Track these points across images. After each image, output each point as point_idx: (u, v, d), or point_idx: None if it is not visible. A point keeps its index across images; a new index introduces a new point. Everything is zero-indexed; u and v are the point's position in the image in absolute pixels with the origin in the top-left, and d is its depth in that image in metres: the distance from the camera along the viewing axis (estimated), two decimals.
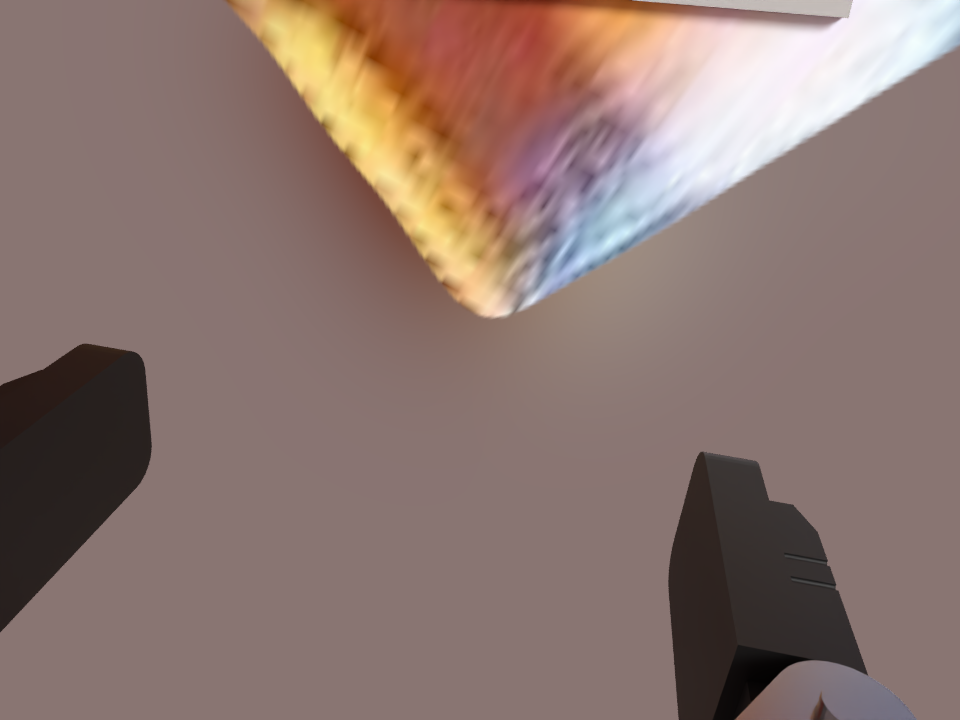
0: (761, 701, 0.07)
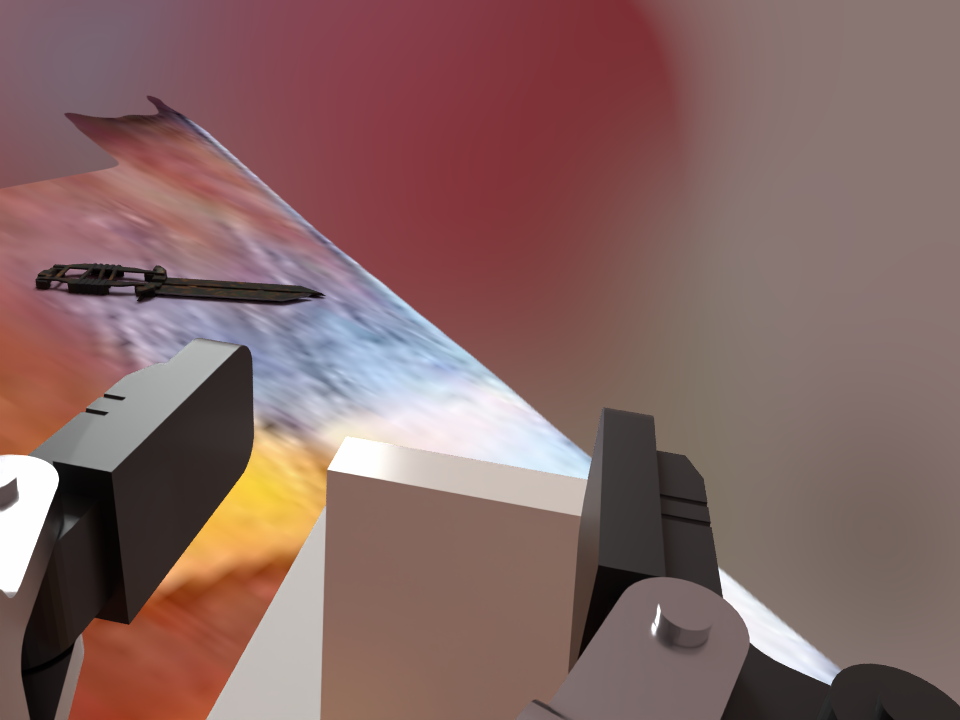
0: (609, 623, 0.07)
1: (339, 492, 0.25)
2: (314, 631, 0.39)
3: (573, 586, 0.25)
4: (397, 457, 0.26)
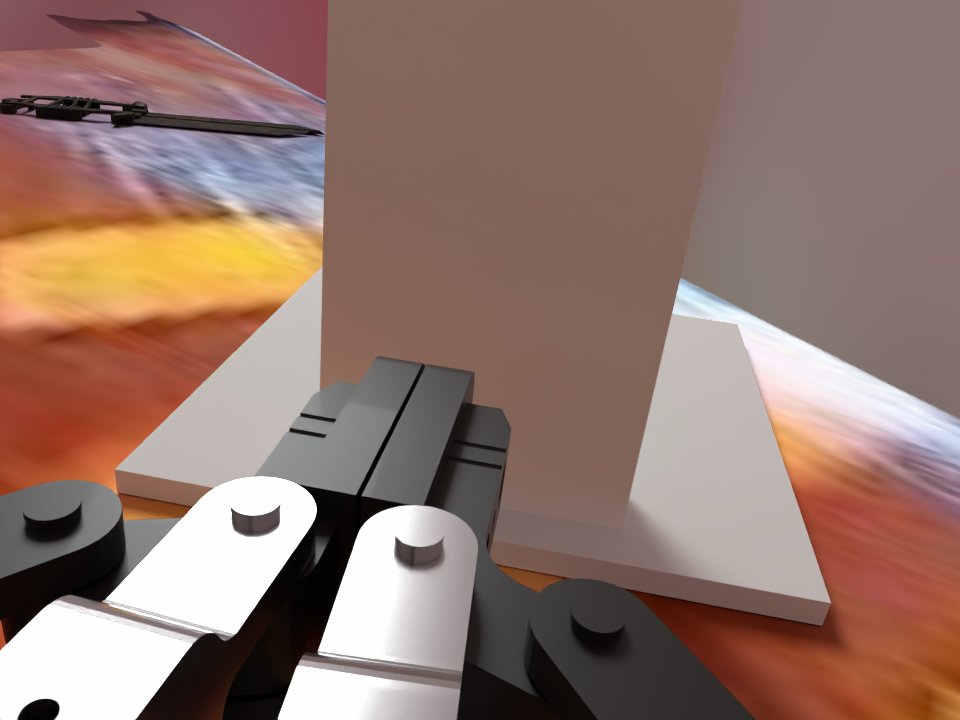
0: (353, 563, 0.08)
1: None
2: (312, 352, 0.31)
3: (685, 75, 0.18)
4: None
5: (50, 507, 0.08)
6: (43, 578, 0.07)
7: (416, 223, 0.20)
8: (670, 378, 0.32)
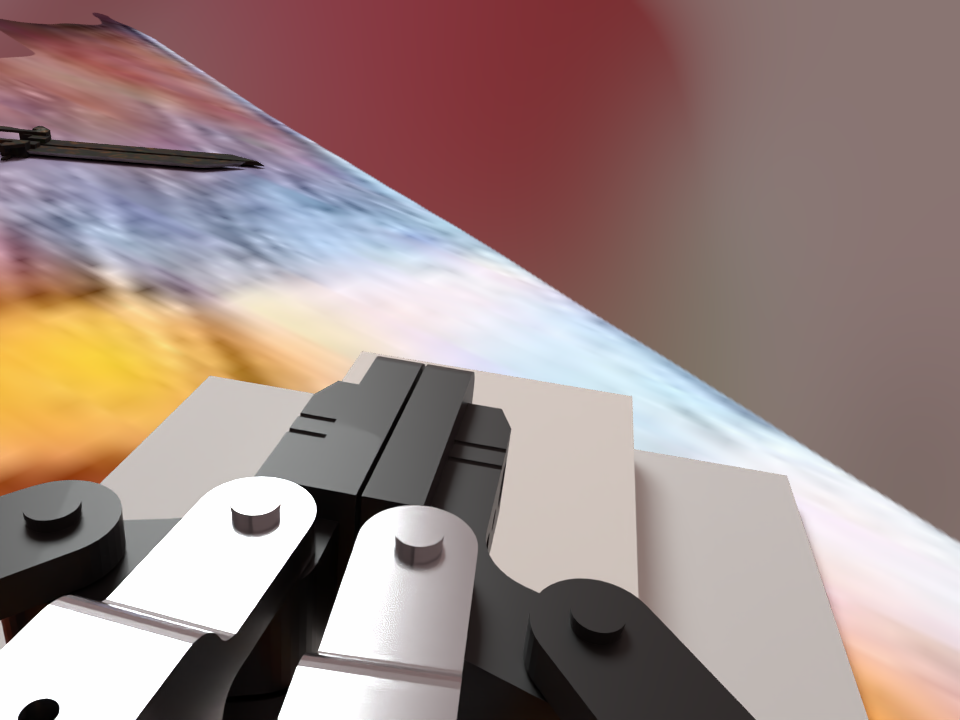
0: (353, 563, 0.08)
1: (367, 363, 0.26)
2: None
3: (603, 434, 0.24)
4: None
5: (50, 507, 0.08)
6: (43, 579, 0.07)
7: None
8: (696, 602, 0.21)
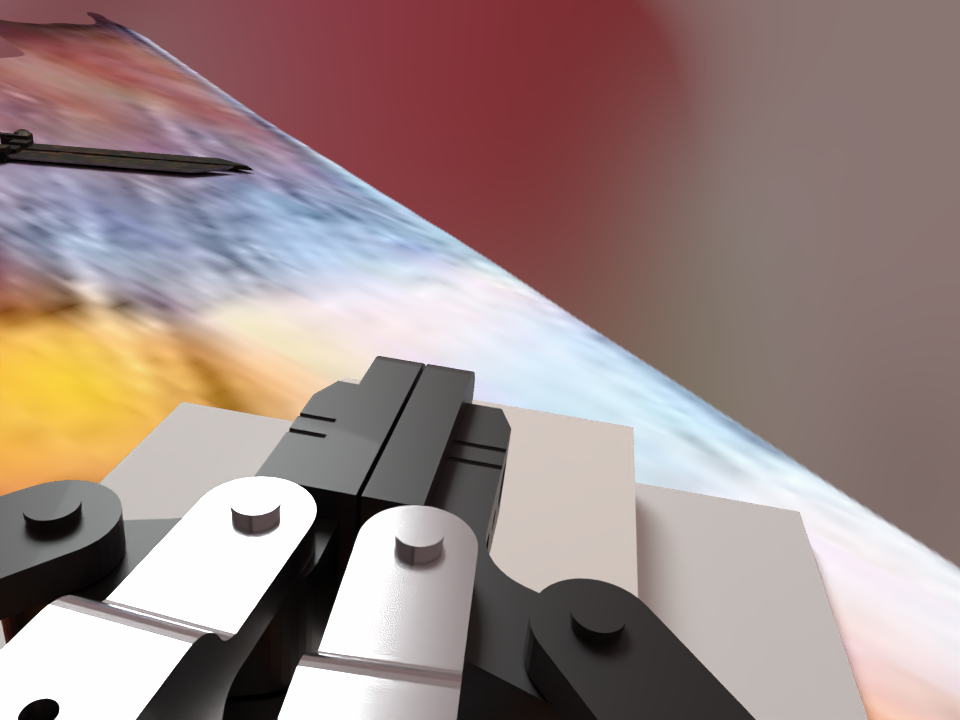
0: (353, 563, 0.08)
1: None
2: None
3: (602, 471, 0.22)
4: None
5: (50, 508, 0.08)
6: (43, 578, 0.07)
7: None
8: (703, 662, 0.19)
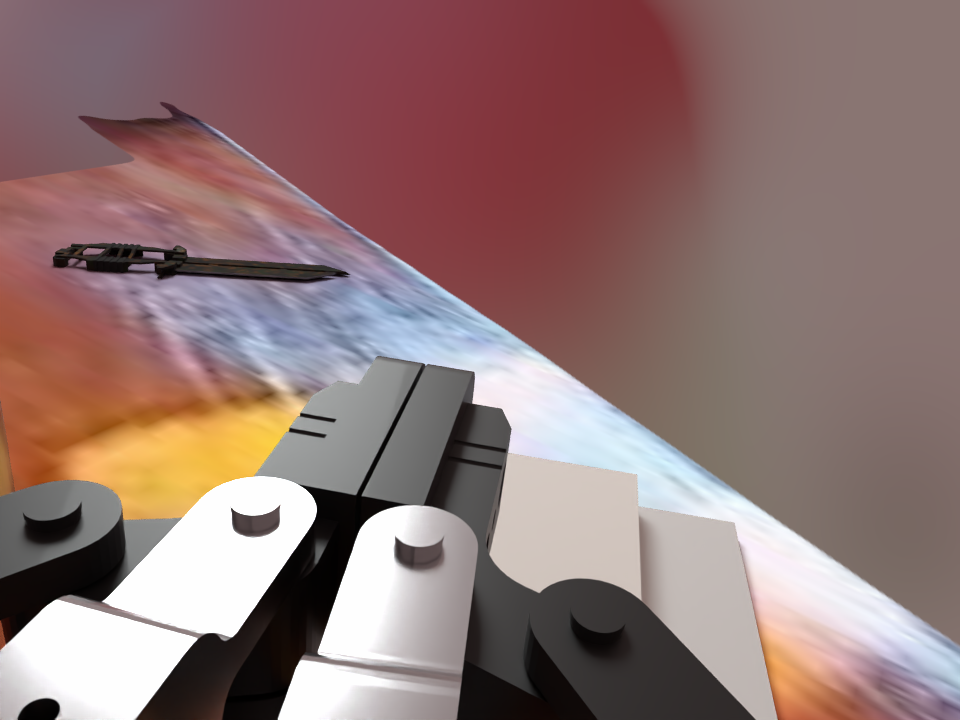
0: (353, 563, 0.08)
1: None
2: None
3: (620, 500, 0.40)
4: None
5: (50, 508, 0.08)
6: (43, 579, 0.07)
7: None
8: (674, 598, 0.37)
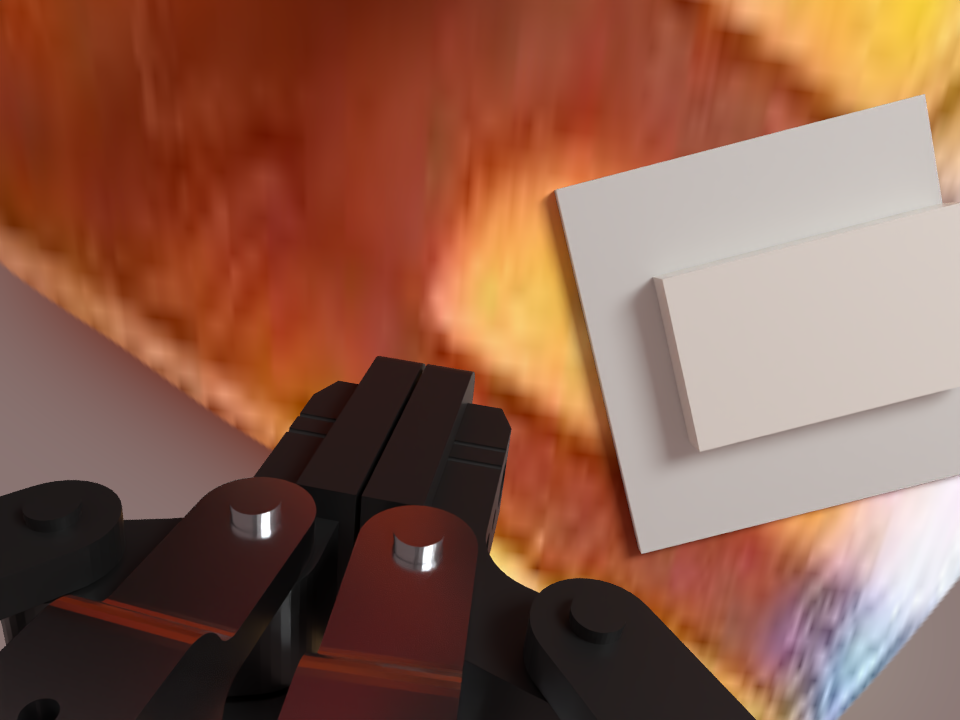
0: (353, 563, 0.08)
1: (948, 214, 0.39)
2: (742, 196, 0.41)
3: (934, 375, 0.41)
4: None
5: (50, 507, 0.08)
6: (43, 578, 0.07)
7: (831, 285, 0.40)
8: (845, 438, 0.43)
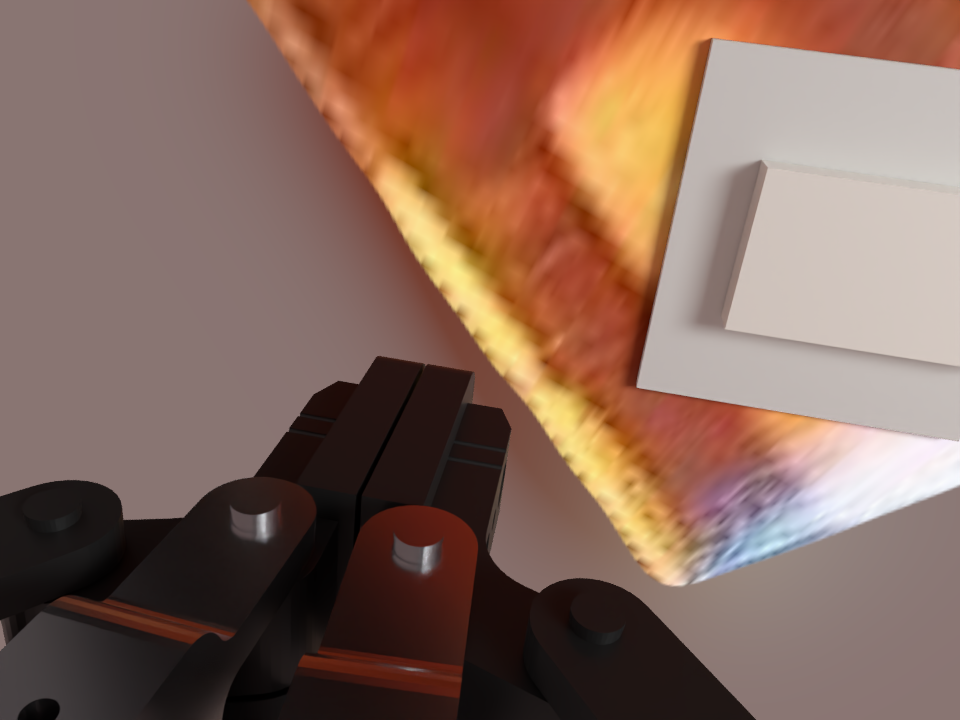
0: (353, 564, 0.08)
1: None
2: (882, 118, 0.41)
3: None
4: None
5: (50, 507, 0.08)
6: (43, 578, 0.07)
7: (916, 237, 0.41)
8: (855, 368, 0.47)
